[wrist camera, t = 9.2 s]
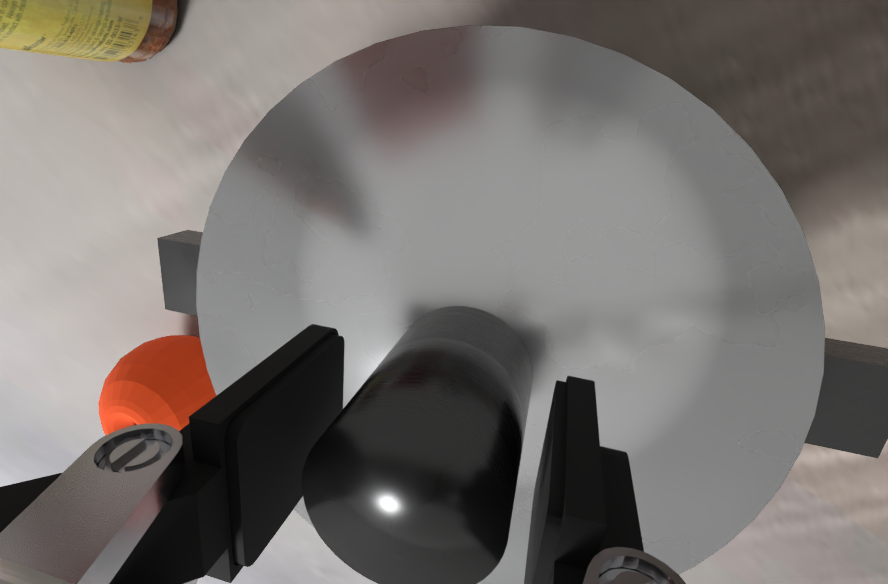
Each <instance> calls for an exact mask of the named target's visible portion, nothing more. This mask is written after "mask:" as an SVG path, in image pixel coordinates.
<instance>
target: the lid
mask: <svg viewBox="0 0 888 584" xmlns="http://www.w3.org/2000/svg"><path fill="white" fill-rule="evenodd" d="M196 307H197V316H198V325H199V334H200V341H201V345H202V349H203V354H204V358H205V362H206V366H207V371H208V373H209V376H210V379H211V382H212V385H213V388H214V390H215V393H216V396H217V395H218V394H219V393H221V392H222V391H223V390H225V389H226V388H227V387H229V386H230V385H231V384H233V383H234V382H235V381H237V380H238V379H239V378H241V377H242V376H243V375H245V374H246V373H247V372H249V371H250V370H251V369H253V368H254V367H255V366H256V365H258V364H259V363H260V362H262V361H263V360H264V359H266V358H267V357H268V356H270V355H271V354H272V353H274V352H275V351H276V350H278V349H279V348H280V347H282V346H283V345H284V344H286V343H287V342H288V341H290V340H291V339H292V338H293V337H295V336H296V335H297V334H299V333H300V332H301V331H303V330H304V329H305V328H307V327H308V326H309V325H311V324H316V325H320V326H325V327H330V328H335V329H336V330H337V331H338V334H339V336H343V338H344V343H345V346H344V384H343V410H342V411H341V412H340V413H339V415H338V416H337V417H336V418H335V420H334V421H333V422H332V423H331V424H330V426H329V427H328V428H327V429H326V431H325V432H324V433H323V434H322V436H321V437H320V438H319V439H318V440H317V442H316V443H315V445H314V446H313V447H312V449H311V450H310V452H309V454H308V456H307V458H306V461H305V465H304V468H303V474H302V493H303V497H302V498H301V499H300V501H299V502H298V503H297V505H296V506H295V508H294V510H295V511H296V512H297V513H298V514H299V515H300V516H301V517H303V518H304V519H305V520H306V521H307V522H308V523H309V524H310V525H311V526H313V527H314V528H315V529H316V531H317V532H318V534H319V536H320V537H321V538H322V540H323V541H324V542H325V544H326V545H327V546H328V547H329V548H330V549H331V550H332V551H333V552H334V554H335V555H337V556H338V557H339V558H340V559H341V560H342V561H343V562H344V563H346V564H347V565H348V566H350V567H351V568H352V569H354V570H355V571H356V572H358V573H360V574H361V575H363V576H365V577H366V578H368V579H370V580H372V581H374V582H376V583H378V584H524V578H525V568H526V559H527V550H528V541H529V532H530V523H531V513H532V504H533V496H534V489H535V483H536V478H537V473H538V468H539V463H540V458H541V453H542V448H543V443H544V438H545V433H546V428H547V423H548V418H549V413H550V408H551V403H552V398H553V393H554V388H555V384H556V380H558V381H563V382H566V379H567V376H572V377H577V378H582V379H587V380H592V381H594V382H595V392H596V404H597V416H598V429H599V441H600V446H602V447H607V448H611V449H615V450H620V451H624V452H626V453H627V454H628V458H629V463H630V469H631V475H632V481H633V487H634V493H635V500H636V506H637V512H638V518H639V524H640V530H641V536H642V542H643V548H644V552H645V553H648V554H650V555H652V556H653V557H655V558H657V559H659V560H660V561H662V562H664V563H665V564H666V565H668V566H669V567H670V568H671V569H672V570H674V571H675V572H676V573H677V574H678V575H679V574H681V573H683V572H685V571H686V570H688V569H690V568H692V567H694V566H696V565H698V564H699V563H701V562H702V561H703V560H705V559H706V558H708V557H709V556H711V555H712V554H714V553H715V552H717V551H718V550H719V549H721V548H722V547H724V546H725V545H727V544H728V543H729V542H730V541H731V540H732V539H733V538H734V537H735V536H737V535H738V534H739V533H740V532H741V531H742V530H743V529H744V528H745V527H746V526H747V525H749V524H750V523H751V522H752V521H753V520H754V519H755V518H756V517H757V516H758V514H759V513H760V512H761V511H762V509H763V508H764V507H765V506H766V504H767V503H768V502H769V501H770V500H771V498H772V497H773V496H774V495H775V493H776V492H777V491H778V490H779V488H780V487H781V485H782V483H783V482H784V480H785V478H786V477H787V475H788V473H789V471H790V470H791V468H792V466H793V465H794V463H795V461H796V459H797V458H798V456H799V454H800V452H801V450H802V447H803V444H804V442H805V439H806V437H807V434H808V431H809V429H810V426H811V424H812V421H813V418H814V416H815V412H816V407H817V402H818V397H819V392H820V388H821V383H822V378H823V373H824V347H825V323H824V315H823V308H822V301H821V293H820V286H819V280H818V277H817V274H816V270H815V267H814V264H813V261H812V258H811V254H810V251H809V248H808V245H807V242H806V238H805V235H804V233H803V231H802V229H801V227H800V225H799V223H798V221H797V219H796V217H795V215H794V213H793V211H792V209H791V207H790V205H789V203H788V201H787V199H786V197H785V195H784V193H783V191H782V190H781V188H780V187H779V185H778V184H777V183H776V181H775V180H774V178H773V177H772V176H771V174H770V173H769V172H768V170H767V169H766V167H765V166H764V165H763V163H762V162H761V161H760V159H759V158H758V156H757V155H756V154H755V152H754V151H753V150H752V148H751V147H750V146H749V145H748V144H747V143H746V142H745V141H744V140H743V139H742V138H741V137H740V136H739V135H738V134H737V133H736V132H735V131H734V130H733V129H732V128H731V127H730V126H729V125H728V124H727V123H726V122H725V121H724V120H723V119H722V118H721V117H720V116H719V115H718V114H717V113H716V112H715V111H714V110H713V109H711V108H710V107H709V106H707V105H706V104H705V103H703V102H702V101H700V100H699V99H698V98H696V97H695V96H694V95H692V94H691V93H689V92H688V91H687V90H685V89H684V88H683V87H681V86H680V85H679V84H677V83H676V82H674V81H673V80H672V79H670V78H668V77H667V76H665V75H663V74H661V73H659V72H657V71H655V70H653V69H651V68H649V67H647V66H645V65H643V64H642V63H640V62H638V61H636V60H634V59H632V58H630V57H628V56H626V55H624V54H622V53H619V52H616V51H614V50H611V49H608V48H605V47H602V46H599V45H596V44H593V43H590V42H587V41H584V40H581V39H579V38H576V37H573V36H568V35H562V34H557V33H552V32H546V31H541V30H535V29H530V28H524V27H511V26H480V25H467V26H459V27H450V28H441V29H433V30H424V31H419V32H415V33H412V34H408V35H404V36H401V37H397V38H393V39H390V40H386V41H383V42H379V43H376V44H373V45H371V46H369V47H367V48H364V49H362V50H360V51H358V52H355V53H353V54H351V55H349V56H346V57H344V58H342V59H340V60H337V61H335V62H334V63H332V64H331V65H329V66H328V67H326V68H324V69H323V70H321V71H320V72H318V73H317V74H315V75H313V76H312V77H310V78H309V79H307V80H306V81H304V82H303V83H301V84H300V85H298V86H297V87H296V88H295V89H294V90H293V91H292V92H290V93H289V94H288V95H287V96H286V97H285V98H284V99H282V100H281V101H280V102H279V103H278V104H277V105H276V106H275V107H273V108H272V109H271V110H270V111H269V112H268V113H267V114H266V116H265V117H264V118H263V119H262V120H261V122H260V123H259V124H258V125H257V126H256V128H255V129H254V130H253V131H252V132H251V133H250V135H249V136H248V137H247V138H246V139H245V141H244V142H243V144H242V145H241V147H240V149H239V150H238V152H237V154H236V155H235V157H234V158H233V160H232V162H231V163H230V165H229V166H228V168H227V170H226V171H225V173H224V176H223V178H222V180H221V183H220V185H219V187H218V189H217V192H216V194H215V196H214V199H213V201H212V203H211V206H210V209H209V213H208V217H207V220H206V224H205V227H204V231H203V235H202V238H201V245H200V252H199V259H198V266H197V288H196Z"/></svg>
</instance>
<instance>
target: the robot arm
mask: <svg viewBox="0 0 888 584" xmlns="http://www.w3.org/2000/svg"><path fill="white" fill-rule="evenodd" d="M344 346H345V343H344V338H343V336H339V334H338V331H337V330H336V329H335V328H330V327H325V326H320V325H316V324H311V325H309V326H308V327H307V328H305V329H304V330H303V331H301V332H300V333H299V334H297V335H296V336H295V337H293V338H292V339H291V340H290V341H288V342H287V343H286V344H284V345H283V346H282V347H280V348H279V349H278V350H276V351H275V352H274V353H272V354H271V355H270V356H268V357H267V358H266V359H264V360H263V361H262V362H260V363H259V364H258V365H256V366H255V367H254V368H253V369H251V370H250V371H249V372H247V373H246V374H245V375H243V376H242V377H241V378H239V379H238V380H237V381H235V382H234V383H233V384H231V385H230V386H229V387H227V388H226V389H225V390H223V391H222V392H221V393H219V394H218V395H217V396H216V397H214V398H213V399H212V400H210V401H209V402H208V403H206V404H205V405H204V406H202V407H201V408H200V409H198V410H197V411H196V412H194V413H193V414H192V415H190V416H189V424H188V425H186V426H185V427H184V428H182V429H181V430H180V431H178V430H177V429H175V428H173V427H171V426H169V425H164V424H159V423H150V424H139V425H134V426H129V427H126V428H123V429H120V430H117V431H114V432H112V433H110V434H108V435H106V436H104V437H102V438H101V439H99V440H98V441H97V442H95V443H94V444H93V445H91V446H90V447H89V448H88V449H87V450H86V451H85V452H84V453H83V454H82V455H81V456H80V457H79V458H78V459H77V460H76V461H75V462H74V463H73V464H72V465H71V466H69V467H68V468H67V469H66V470H65V471H64V472H63V473H59V474H55V475H51V476H46V477H42V478H38V479H33V480H29V481H25V482H20V483H16V484H12V485H7V486H3V487H0V584H196V583H197V580H198V578H201V577H204V576H205V575H208V576H211V577H214V578H217V579H220V580H223V581H226V582H229V583H231V582H232V581H233V579H234V578H235V577H236V575H237V574H238V573H239V571H240V570H241V569H242V567H243V566H247V567H248V566H251V565H252V564H253V563H254V562H255V561H256V560H257V558H258V557H259V555H260V554H261V553H262V551H263V550H264V549H265V547H266V546H267V545H268V543H269V542H270V540H271V539H272V538H273V536H274V535H275V534H276V532H277V531H278V529H279V528H280V527H281V525H282V524H283V523H284V521H285V520H286V518H287V517H288V516H289V514H290V513H291V512H292V510H293V509H294V508H295V506H296V505H297V503H298V502H299V501H300V499H301V498H302V497H303V493H302V474H303V468H304V465H305V461H306V458H307V456H308V454H309V452H310V450H311V449H312V447H313V446H314V445H315V443H316V442H317V440H318V439H319V438H320V437H321V436H322V434H323V433H324V432H325V431H326V429H327V428H328V427H329V426H330V424H331V423H332V422H333V421H334V420H335V418H336V417H337V416H338V415H339V413H340V412H341V411H342V410H343V384H344ZM524 584H686V583H685V582H684V581H683V580H682V578H681V577H680V576H679V575H678V574H677V573H676V572H675V571H674V570H672V569H671V568H670V567H669V566H668V565H666V564H665V563H664V562H662V561H660V560H659V559H657V558H655V557H653V556H652V555H650V554H648V553H645V552H644V548H643V542H642V536H641V530H640V524H639V518H638V512H637V506H636V500H635V493H634V487H633V481H632V475H631V469H630V463H629V458H628V454H627V453H626V452H624V451H620V450H615V449H611V448H607V447H602V446H600V441H599V429H598V416H597V404H596V392H595V382H594V381H592V380H587V379H582V378H577V377H572V376H567V379H566V382H563V381H558V380H556V384H555V388H554V393H553V398H552V403H551V408H550V413H549V418H548V423H547V428H546V433H545V438H544V443H543V448H542V453H541V458H540V463H539V468H538V473H537V478H536V483H535V489H534V496H533V504H532V513H531V523H530V532H529V541H528V550H527V559H526V568H525V578H524Z"/></svg>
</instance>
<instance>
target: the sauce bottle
mask: <svg viewBox="0 0 888 584" xmlns="http://www.w3.org/2000/svg"><path fill="white" fill-rule="evenodd" d="M177 14H178V10H177V0H0V48H6V49H14V50H21V51H28V52H35V53H42V54H50V55H58V56H66V57H73V58H81V59H89V60H97V61H106V62H107V61H121V62H127V63H131V62H140V61H145V60H147V59H150V58H152V57H153V56H154V55H155V54H156V53H158V52H160V51H161V50H163V49H164V48H165V46H166V44H167V43H168V42H169V40H170V38H171V35H172V34H173V33H174V30H175V27H176V19H177Z"/></svg>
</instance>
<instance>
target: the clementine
mask: <svg viewBox="0 0 888 584" xmlns="http://www.w3.org/2000/svg"><path fill="white" fill-rule="evenodd" d="M214 397H216V393H215V390H214V388H213V385H212V382H211V379H210V376H209V373H208V371H207V366H206V362H205V358H204V354H203V349H202V345H201V341H200V338H198V337H195V336H186V335H175V336H166V337H161V338H157V339H154V340H151V341H148V342H145V343H143V344H142V345H140V346H138V347H137V348H135V349H134V350H132V351H131V352H129V353H128V354H127V355H125V356H124V357H122V358H121V359H120V360H119V362H118V363H117V364H116V366H115V367H114V368H113V370H112V371H111V372H110V374H109V375H108V377H107V378H106V379H105V382H104V386H103V389H102V392H101V396H100V400H99V415H100V420H101V424H102V428H103V431H104V433H105V435H108V434H110V433H112V432H114V431H117V430H120V429H123V428H126V427H129V426H134V425H139V424H150V423H159V424H164V425H169V426H171V427H173V428H175V429H177V430H178V431H180V430H181V429H182V428H184V427H185V426H186V425H188V424H189V416H190V415H192V414H193V413H194V412H196V411H197V410H198V409H200V408H201V407H202V406H204V405H205V404H206V403H208V402H209V401H210V400H212V399H213V398H214Z"/></svg>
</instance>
